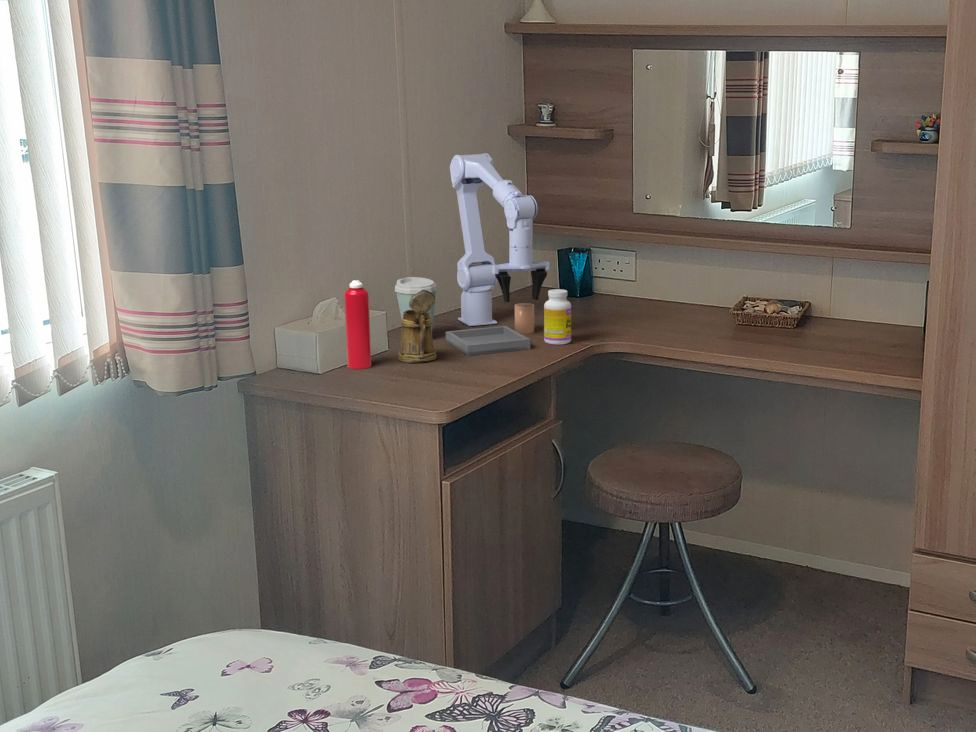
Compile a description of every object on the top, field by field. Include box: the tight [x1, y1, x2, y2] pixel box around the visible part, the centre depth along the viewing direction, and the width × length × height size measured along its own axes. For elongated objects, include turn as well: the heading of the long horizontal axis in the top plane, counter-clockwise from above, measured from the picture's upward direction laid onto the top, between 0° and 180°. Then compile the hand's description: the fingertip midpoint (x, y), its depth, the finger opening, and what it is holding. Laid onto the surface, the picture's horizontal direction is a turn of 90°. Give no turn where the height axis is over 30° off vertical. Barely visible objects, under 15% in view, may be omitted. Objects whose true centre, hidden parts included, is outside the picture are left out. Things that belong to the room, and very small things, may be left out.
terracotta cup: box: [514, 302, 535, 335], centre depth 300 cm, size 5×5×7 cm
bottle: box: [343, 279, 372, 370], centre depth 267 cm, size 5×5×20 cm
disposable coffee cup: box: [394, 276, 438, 333], centre depth 293 cm, size 11×11×15 cm
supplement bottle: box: [543, 288, 572, 346], centre depth 288 cm, size 7×7×13 cm
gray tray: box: [445, 325, 531, 357], centre depth 287 cm, size 16×16×2 cm
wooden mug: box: [397, 290, 437, 364], centre depth 271 cm, size 9×14×18 cm, turn 17°
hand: (521, 300), depth 292 cm, fingers open, 7 cm apart
